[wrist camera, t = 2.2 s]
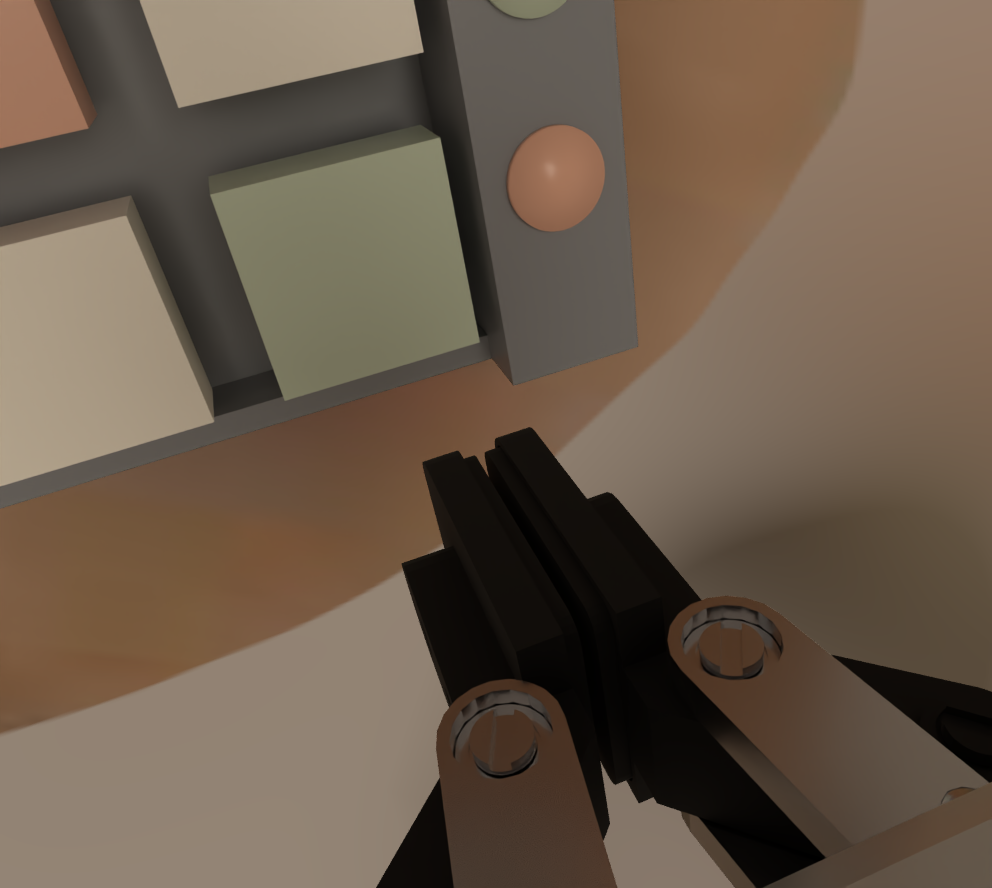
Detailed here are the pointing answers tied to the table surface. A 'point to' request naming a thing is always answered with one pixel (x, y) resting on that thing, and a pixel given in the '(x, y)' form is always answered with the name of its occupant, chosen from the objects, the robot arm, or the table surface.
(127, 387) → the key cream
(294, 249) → the key sage
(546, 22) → the keypad
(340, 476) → the table surface
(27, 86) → the key terracotta
